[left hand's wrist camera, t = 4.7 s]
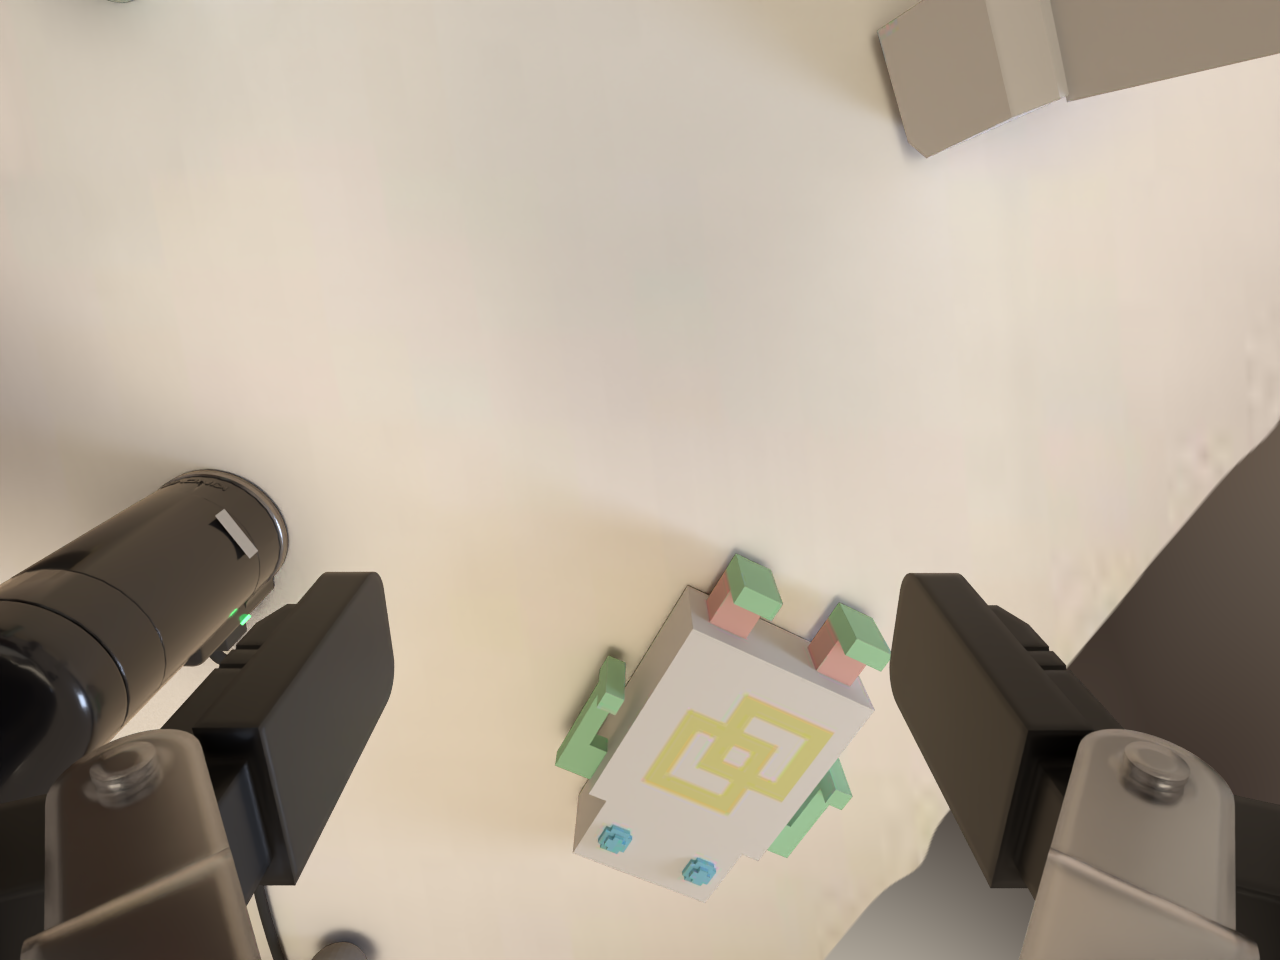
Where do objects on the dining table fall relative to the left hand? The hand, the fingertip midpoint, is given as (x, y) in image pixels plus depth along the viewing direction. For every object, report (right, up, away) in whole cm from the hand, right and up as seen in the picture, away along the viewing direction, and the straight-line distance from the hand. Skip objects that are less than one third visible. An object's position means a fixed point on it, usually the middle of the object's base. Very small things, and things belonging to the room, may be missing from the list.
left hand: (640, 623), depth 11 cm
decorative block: (+6, -16, +46) cm, 49 cm away
